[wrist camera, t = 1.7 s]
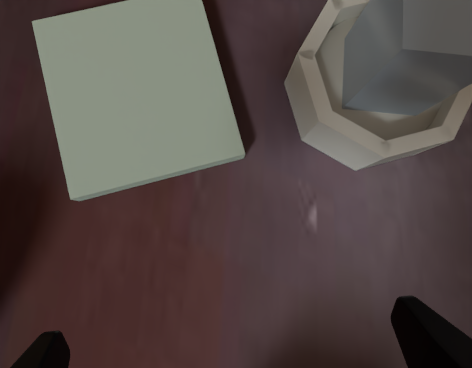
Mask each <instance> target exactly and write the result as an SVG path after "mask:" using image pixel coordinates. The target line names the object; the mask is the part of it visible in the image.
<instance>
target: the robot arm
mask: <svg viewBox="0 0 472 368" xmlns="http://www.w3.org/2000/svg"><path fill="white" fill-rule="evenodd" d="M391 323H392V326H393V329H394V331H395V334H396V337H397V339H398V342H399V345H400V347H401V350H402V353H403V356H404V358H405V361H406V364H407V366H408V368H472V339H471V338H470V337H468V336H467V335H466V334H464V333H463V332H462V331H460V330H459V329H458V328H456V327H455V326H454V325H452V324H451V323H450V322H448V321H447V320H446V319H444V318H443V317H442V316H440V315H439V314H438V313H436V312H435V311H434V310H432V309H431V308H430V307H428V306H427V305H426V304H424V303H423V302H422V301H420V300H419V299H418V298H416V297H414V296H401V297H398V298H397V300H396V302H395V305H394V308H393V310H392V313H391ZM69 360H70V349H69V346H68V344H67V342H66V340H65V338H64V336H63V334H62V332H60V331H49V332H44V333H42V334H41V335H40V336H39V337H38V338H37V339H36V340H35V341H34V342H33V343H32V344H31V345H30V347H29V348H28V349H27V350H26V351H25V352H24V353H23V354H22V355H21V356H20V357H19V359H18V360H17V361H16V362H15V363H14V364H13V365H12V366H11V367H10V368H68V366H69Z"/></svg>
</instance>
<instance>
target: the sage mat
mask: <svg viewBox="0 0 472 368" xmlns="http://www.w3.org/2000/svg"><path fill="white" fill-rule="evenodd" d="M32 24H33V29H34V34H35V38H36V43H37V48H38V52H39V57H40V61H41V66H42V71H43V75H44V80H45V85H46V89H47V94H48V98H49V103H50V108H51V112H52V117H53V122H54V126H55V131H56V136H57V140H58V145H59V149H60V154H61V159H62V163H63V168H64V173H65V177H66V182H67V186H68V191H69V196H70V199H71V200H76V201H82V200H86V199H90V198H94V197H98V196H101V195H105V194H109V193H113V192H117V191H121V190H124V189H128V188H132V187H136V186H140V185H144V184H147V183H151V182H155V181H159V180H163V179H167V178H170V177H174V176H178V175H182V174H186V173H190V172H193V171H197V170H201V169H205V168H209V167H213V166H216V165H220V164H224V163H228V162H232V161H236V160H239V159H243V158H244V156H245V151H244V147H243V144H242V140H241V137H240V133H239V130H238V126H237V123H236V119H235V116H234V112H233V108H232V105H231V101H230V98H229V94H228V91H227V87H226V84H225V80H224V77H223V73H222V69H221V66H220V62H219V59H218V55H217V52H216V48H215V45H214V41H213V38H212V34H211V30H210V27H209V23H208V20H207V16H206V13H205V9H204V6H203V2H202V0H127V1H123V2H118V3H114V4H109V5H104V6H100V7H95V8H91V9H86V10H81V11H77V12H72V13H68V14H63V15H58V16H54V17H49V18H45V19H40V20H35V21H32Z"/></svg>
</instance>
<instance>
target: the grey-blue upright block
mask: <svg viewBox="0 0 472 368" xmlns="http://www.w3.org/2000/svg"><path fill="white" fill-rule="evenodd" d="M470 84H472V0H369V2H368V3H367V5H366V6H365V8H364V9H363V11H362V13H361V14H360V16H359V17H358V19H357V20H356V22H355V23H354V25H353V26H352V28H351V29H350V31H349V32H348V34H347V36H346V37H345V41H344V65H343V90H342V109H349V110H360V111H370V112H381V113H391V114H402V115H412V116H416V115H418V114H420V113H421V112H423V111H425V110H427V109H428V108H430V107H432V106H434V105H435V104H437V103H439V102H441V101H442V100H444V99H446V98H448V97H449V96H451V95H453V94H455V93H456V92H458V91H460V90H461V89H463V88H465V87H467V86H468V85H470Z"/></svg>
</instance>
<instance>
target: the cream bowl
mask: <svg viewBox="0 0 472 368" xmlns="http://www.w3.org/2000/svg"><path fill="white" fill-rule="evenodd" d="M368 2H369V0H328V1H327V3H326V5H325V7H324V8H323V10H322V12H321V13H320V15H319V17H318V19H317V20H316V22H315V24H314V25H313V27H312V29H311V31H310V32H309V34H308V36H307V37H306V39H305V41H304V43H303V44H302V46H301V48H300V49H299V51H298V52H297V55H296V57H295V59H294V62H293V64H292V66H291V69H290V71H289V73H288V75H287V78H286V80H285V82H284V85H285V88H286V91H287V94H288V98H289V101H290V104H291V108H292V111H293V114H294V118H295V121H296V124H297V127H298V131H299V134H300V137H301V141H304V142H305V143H307V144H309V145H311V146H312V147H314V148H316V149H318V150H320V151H321V152H323V153H325V154H327V155H328V156H330V157H332V158H334V159H335V160H337V161H339V162H341V163H343V164H344V165H346V166H348V167H350V168H351V169H353V170H355V171H356V170H360V169H363V168H367V167H371V166H374V165H378V164H382V163H385V162H389V161H393V160H397V159H400V158H404V157H408V156H411V155H415V154H417V153H420V152H423V151H425V150H428V149H431V148H433V147H436V146H439V145H441V144H444V143H446V142H449V141H452V140H454V138H455V136H456V134H457V132H458V129H459V127H460V125H461V123H462V121H463V119H464V117H465V115H466V113H467V111H468V109H469V107H470V105H471V103H472V84H470V85H468V86H467V87H465V88H463V89H461V90H460V91H458V92H456V93H455V94H453V95H451V96H449V97H448V98H446V99H444V100H442V101H441V102H439V103H437V104H435V105H434V106H432V107H430V108H428V109H427V110H425V111H423V112H421V113H420V114H418V115H416V116H412V115H402V114H391V113H381V112H370V111H360V110H349V109H342V90H343V65H344V41H345V37H346V36H347V34H348V32H349V31H350V29H351V28H352V26H353V25H354V23H355V22H356V20H357V19H358V17H359V16H360V14H361V13H362V11H363V9H364V8H365V6H366V5H367V3H368Z"/></svg>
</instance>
